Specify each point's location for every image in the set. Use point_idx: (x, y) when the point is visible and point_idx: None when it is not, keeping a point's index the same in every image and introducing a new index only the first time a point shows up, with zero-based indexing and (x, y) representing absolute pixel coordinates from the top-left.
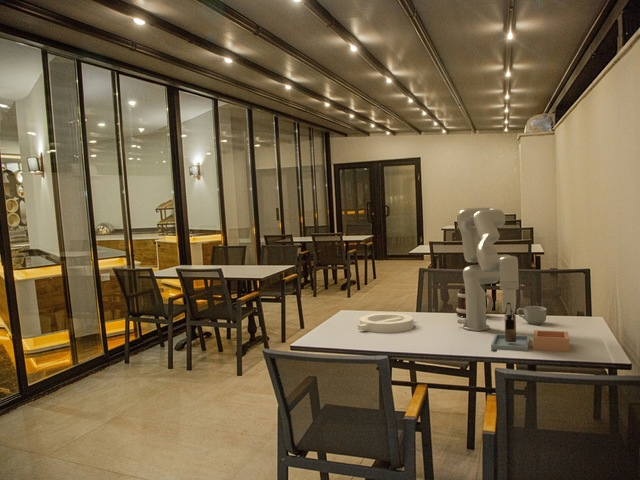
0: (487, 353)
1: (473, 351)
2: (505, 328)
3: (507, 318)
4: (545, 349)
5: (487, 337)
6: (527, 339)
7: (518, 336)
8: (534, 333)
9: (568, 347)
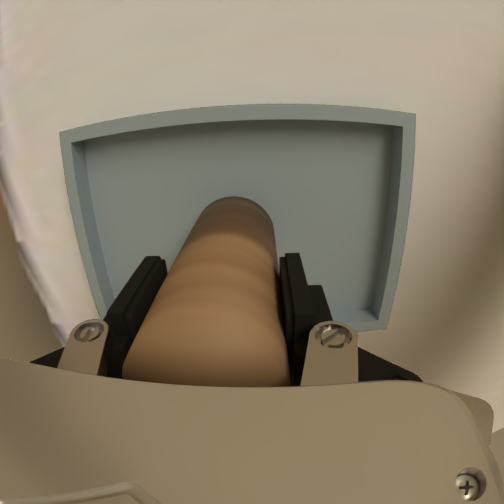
0: (35, 126)
1: (49, 47)
2: (191, 243)
3: (62, 349)
4: None
5: (439, 63)
6: None
7: (385, 271)
8: None
9: None
